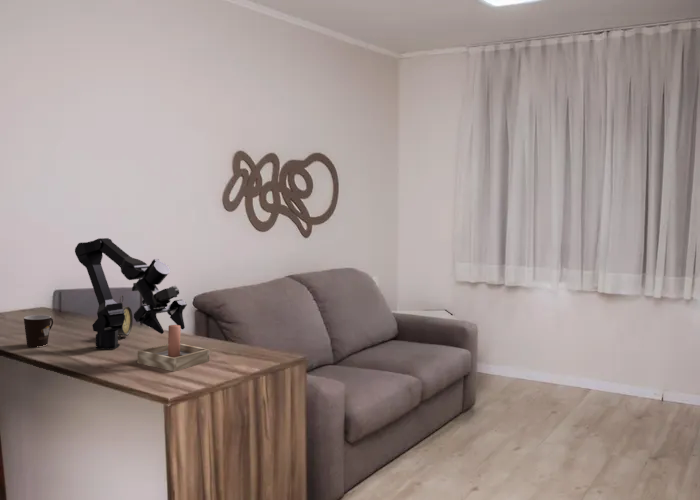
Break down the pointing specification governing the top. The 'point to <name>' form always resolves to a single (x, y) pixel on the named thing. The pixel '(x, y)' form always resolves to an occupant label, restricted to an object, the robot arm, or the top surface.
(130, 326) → the alarm clock
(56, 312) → the top surface
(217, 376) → the top surface
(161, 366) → the box
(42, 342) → the coffee mug
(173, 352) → the peg
